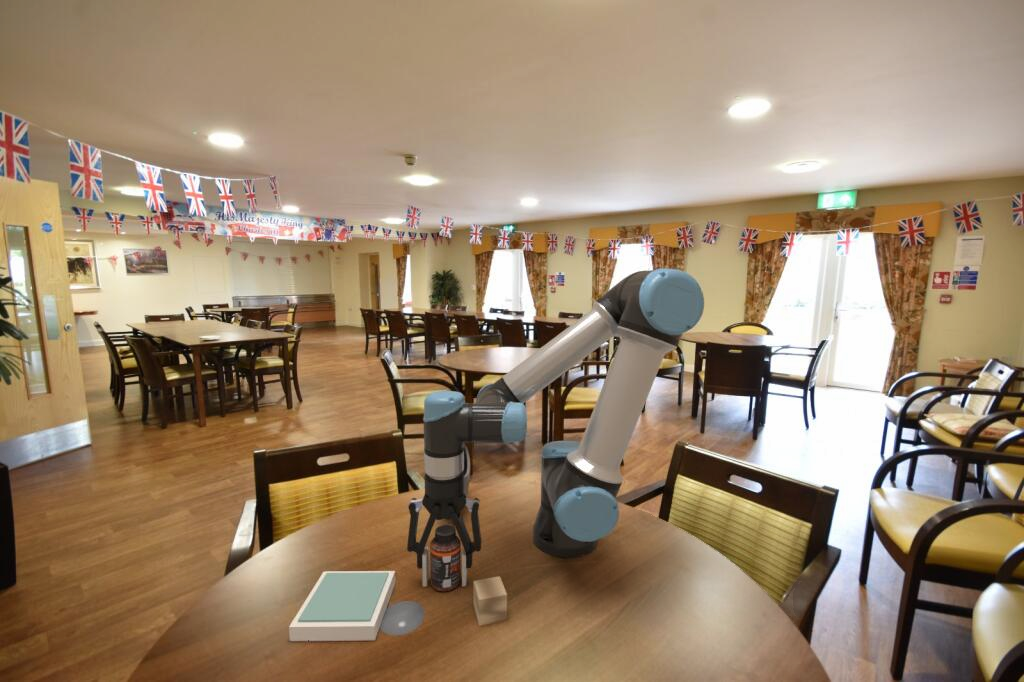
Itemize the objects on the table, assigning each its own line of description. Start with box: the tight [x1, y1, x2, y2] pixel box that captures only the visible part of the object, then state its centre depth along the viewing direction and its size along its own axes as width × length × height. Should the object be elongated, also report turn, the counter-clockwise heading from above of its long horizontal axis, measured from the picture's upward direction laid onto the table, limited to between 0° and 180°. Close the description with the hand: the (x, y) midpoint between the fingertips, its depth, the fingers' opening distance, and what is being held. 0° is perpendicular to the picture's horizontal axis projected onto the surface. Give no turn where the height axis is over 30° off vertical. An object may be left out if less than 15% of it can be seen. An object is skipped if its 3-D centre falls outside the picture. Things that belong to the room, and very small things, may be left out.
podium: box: [288, 570, 396, 642], centre depth 78 cm, size 14×14×3 cm
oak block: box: [473, 576, 508, 626], centre depth 78 cm, size 5×5×5 cm
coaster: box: [379, 600, 426, 636], centre depth 77 cm, size 8×8×1 cm
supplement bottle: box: [429, 524, 462, 592], centre depth 85 cm, size 6×6×11 cm
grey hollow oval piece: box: [463, 443, 471, 497], centre depth 113 cm, size 18×7×19 cm, turn 176°
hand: (445, 581), depth 86 cm, fingers open, 7 cm apart
